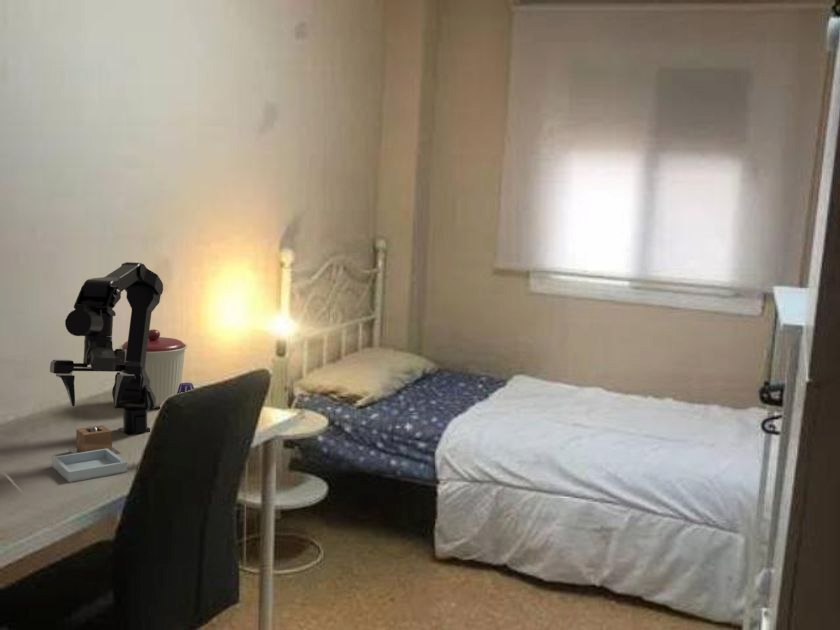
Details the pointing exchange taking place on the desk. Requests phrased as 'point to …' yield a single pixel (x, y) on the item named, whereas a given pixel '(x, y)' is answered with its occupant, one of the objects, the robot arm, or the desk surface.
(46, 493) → the desk surface
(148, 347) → the canister
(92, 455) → the tray
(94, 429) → the grey peg stand
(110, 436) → the wooden block with hole
